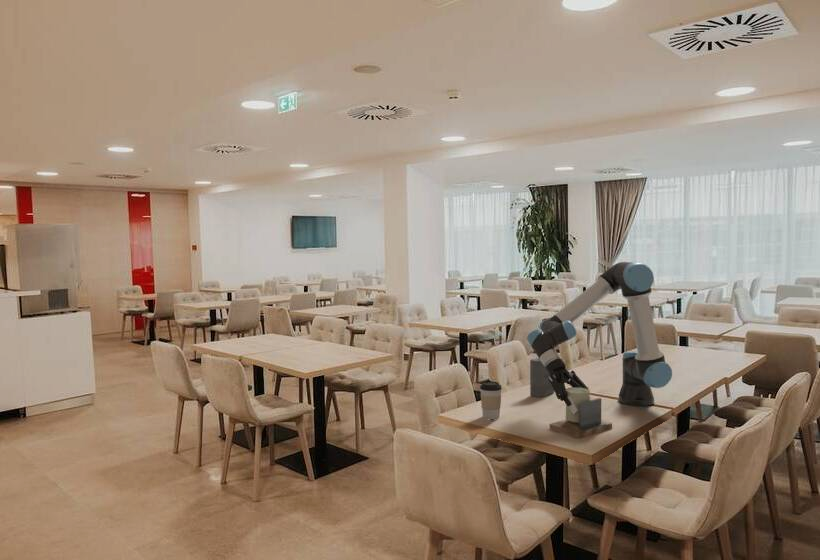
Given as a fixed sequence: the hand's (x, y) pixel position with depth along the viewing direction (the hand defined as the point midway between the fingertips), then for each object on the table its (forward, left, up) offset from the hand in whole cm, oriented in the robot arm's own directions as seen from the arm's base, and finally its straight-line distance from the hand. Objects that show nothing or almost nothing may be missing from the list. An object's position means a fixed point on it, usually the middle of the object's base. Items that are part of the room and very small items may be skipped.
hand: (584, 410), depth 224 cm
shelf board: (0, -2, -8) cm, 8 cm away
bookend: (0, +3, -6) cm, 6 cm away
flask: (-26, -46, -8) cm, 53 cm away
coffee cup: (+18, -34, -8) cm, 39 cm away
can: (0, -3, -5) cm, 6 cm away
